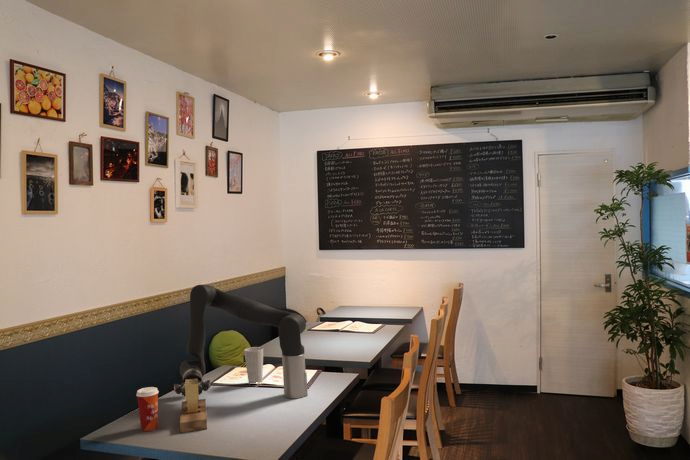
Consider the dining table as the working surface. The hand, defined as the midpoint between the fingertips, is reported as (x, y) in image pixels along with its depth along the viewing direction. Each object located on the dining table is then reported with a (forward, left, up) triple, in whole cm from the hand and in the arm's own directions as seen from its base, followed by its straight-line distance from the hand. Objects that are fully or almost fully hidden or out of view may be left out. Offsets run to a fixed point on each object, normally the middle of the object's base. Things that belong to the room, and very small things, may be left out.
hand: (192, 392), depth 209 cm
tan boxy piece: (0, -3, -7) cm, 8 cm away
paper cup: (+15, 0, -11) cm, 19 cm away
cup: (-27, -40, -11) cm, 49 cm away
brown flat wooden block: (0, -3, -11) cm, 11 cm away
